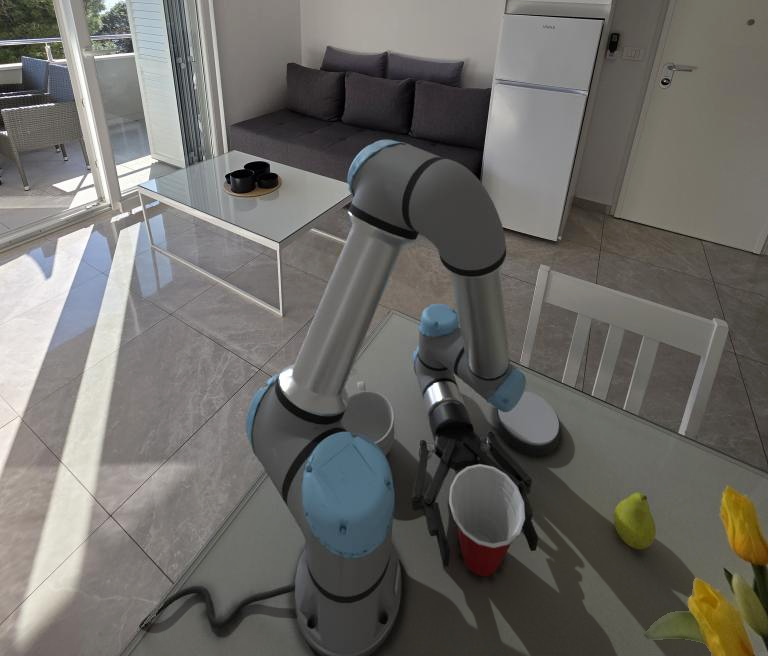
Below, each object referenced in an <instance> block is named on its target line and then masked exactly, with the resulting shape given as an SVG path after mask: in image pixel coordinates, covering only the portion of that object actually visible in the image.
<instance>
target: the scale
mask: <svg viewBox="0 0 768 656" xmlns="http://www.w3.org/2000/svg"><path fill="white" fill-rule="evenodd" d="M494 423H495V426H496V429H497V432H498V433H499V435H500V436H501V438H502V439H503V440H504V442H506V443H507V444H508V445H509V446H510V447H511V448H513V449H514V450H516V451H517V452H520V453H521V454H525V455H527V456H532V457H543V456H546V455H549V454H550V453H552V452H554V450H555V449H556V448H557V447H558V445H559V442H560V436H561V432H562V426H561V421H560V419H559V416H558V415H557V413H556V411H555V410H554V408H553V407H552V406H551V404H549V402H547V400H545V398H542V397H541V396H540V395H537V394H535V393H533V392H530V391H527V390H524V392H523V395H522V397H521V399H520V400H519V402H518V403H517V405H516V406H515V407H514V408H513V409H512V410H511V411H509V412H502V411H500V410H499V409H498V408H496V407H495V413H494Z"/></svg>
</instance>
